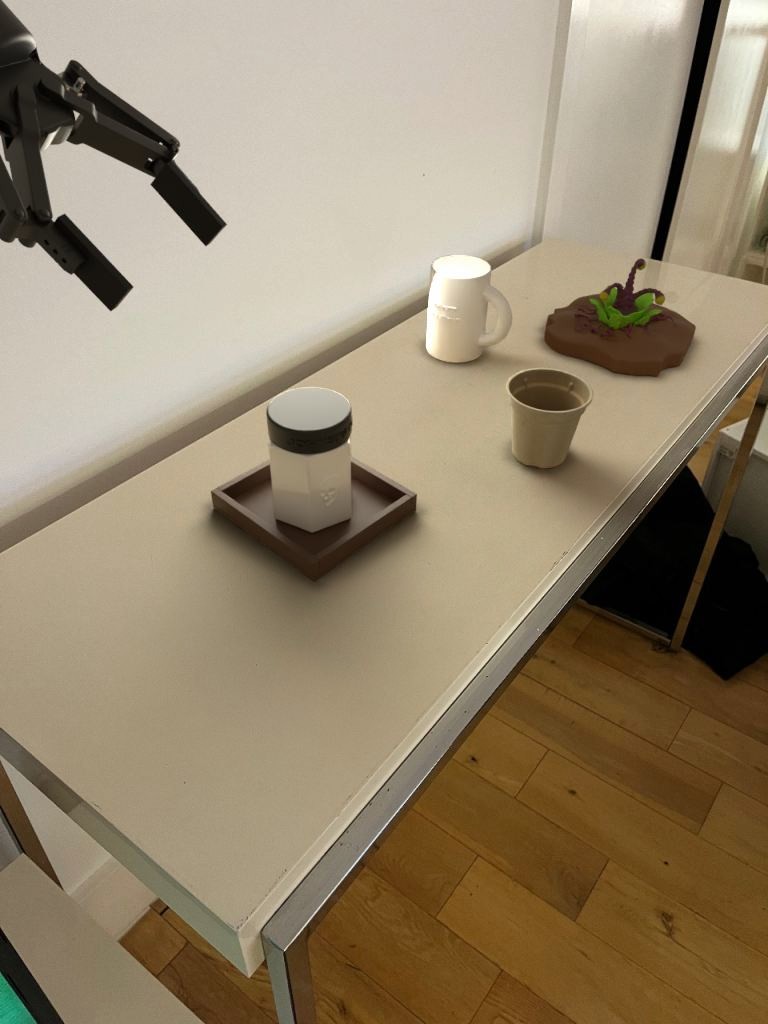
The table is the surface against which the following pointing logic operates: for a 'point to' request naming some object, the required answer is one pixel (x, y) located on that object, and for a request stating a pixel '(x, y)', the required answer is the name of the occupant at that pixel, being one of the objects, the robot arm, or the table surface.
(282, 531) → the tray
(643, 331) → the plant
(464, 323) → the mug
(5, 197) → the robot arm
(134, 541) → the table surface
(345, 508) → the jar
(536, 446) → the flower pot
